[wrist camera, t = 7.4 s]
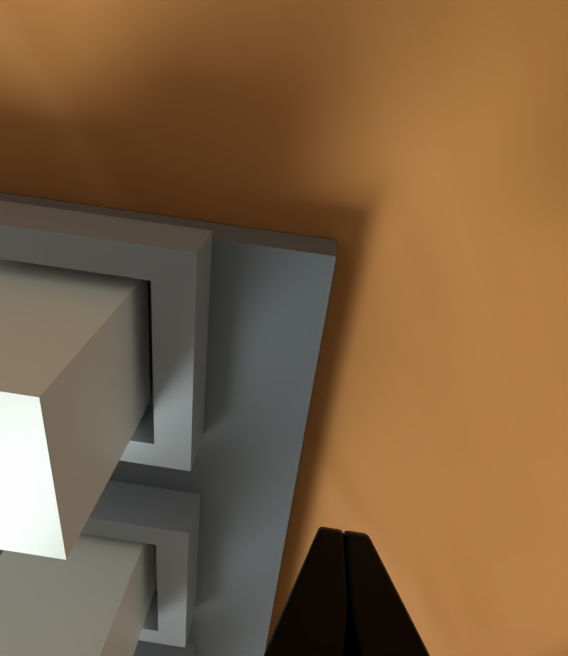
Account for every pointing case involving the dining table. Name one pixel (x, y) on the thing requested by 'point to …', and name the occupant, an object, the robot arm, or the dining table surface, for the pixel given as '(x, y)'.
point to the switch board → (201, 405)
